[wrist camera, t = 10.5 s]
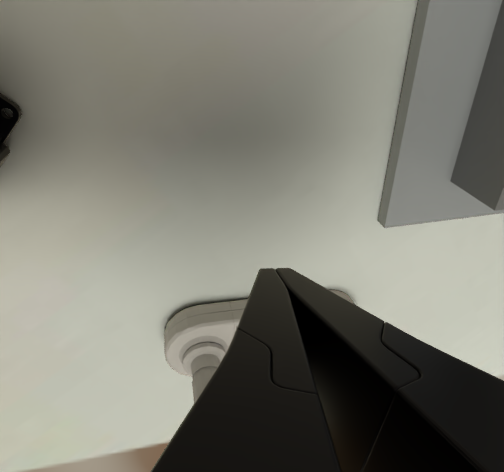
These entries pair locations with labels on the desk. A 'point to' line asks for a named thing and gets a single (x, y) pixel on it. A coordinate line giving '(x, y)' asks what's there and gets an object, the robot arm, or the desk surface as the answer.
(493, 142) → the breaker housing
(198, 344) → the electronic device
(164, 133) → the desk surface
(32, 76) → the desk surface
